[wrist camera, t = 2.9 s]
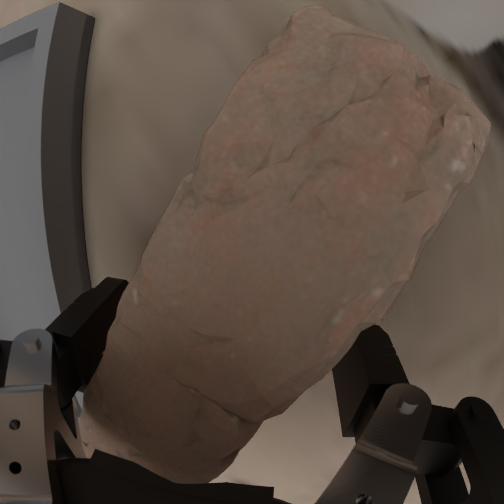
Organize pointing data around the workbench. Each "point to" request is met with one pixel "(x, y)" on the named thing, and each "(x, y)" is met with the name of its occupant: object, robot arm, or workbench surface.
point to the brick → (279, 244)
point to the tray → (42, 168)
